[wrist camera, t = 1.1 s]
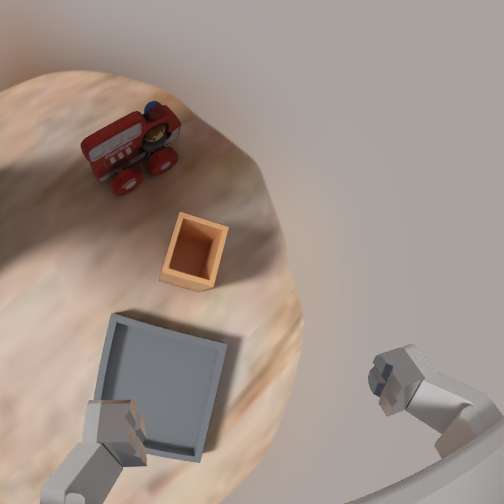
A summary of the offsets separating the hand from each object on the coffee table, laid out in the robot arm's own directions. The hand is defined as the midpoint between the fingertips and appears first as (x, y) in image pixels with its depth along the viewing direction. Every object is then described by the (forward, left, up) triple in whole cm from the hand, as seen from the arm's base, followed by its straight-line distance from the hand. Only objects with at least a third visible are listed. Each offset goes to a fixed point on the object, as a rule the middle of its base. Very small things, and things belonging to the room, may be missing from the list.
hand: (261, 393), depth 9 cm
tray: (-3, -7, -29) cm, 30 cm away
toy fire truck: (-6, +21, -29) cm, 37 cm away
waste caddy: (+1, +8, -29) cm, 30 cm away
